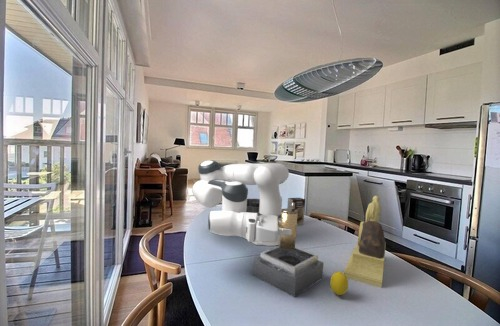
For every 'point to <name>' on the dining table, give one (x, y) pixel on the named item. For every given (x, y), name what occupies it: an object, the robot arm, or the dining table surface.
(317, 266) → the housing
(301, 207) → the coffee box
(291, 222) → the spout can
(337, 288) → the lemon
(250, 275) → the dining table surface
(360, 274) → the decorative clock
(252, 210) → the bundt pan
